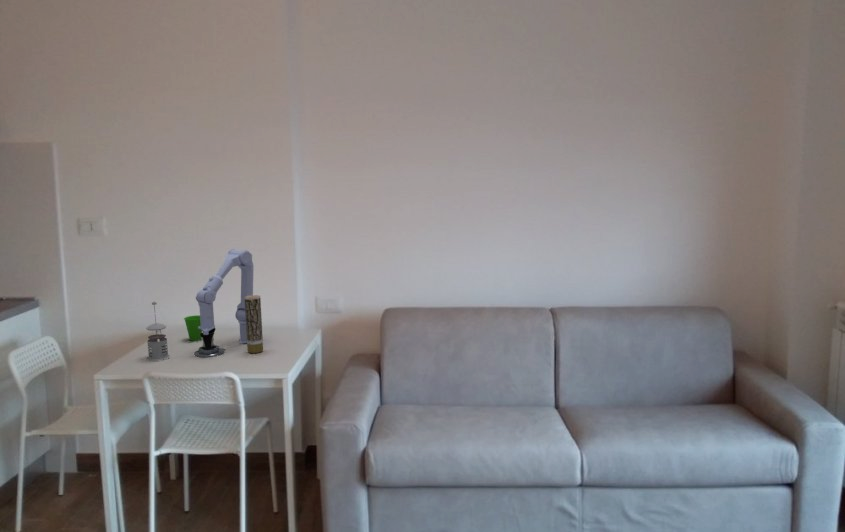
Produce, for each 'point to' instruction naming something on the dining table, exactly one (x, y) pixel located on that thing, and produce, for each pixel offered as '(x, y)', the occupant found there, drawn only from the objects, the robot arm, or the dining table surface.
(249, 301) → the paper tube
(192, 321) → the cup
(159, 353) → the french press
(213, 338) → the silver metal canister
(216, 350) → the flange ring
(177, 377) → the dining table surface
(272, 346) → the dining table surface
